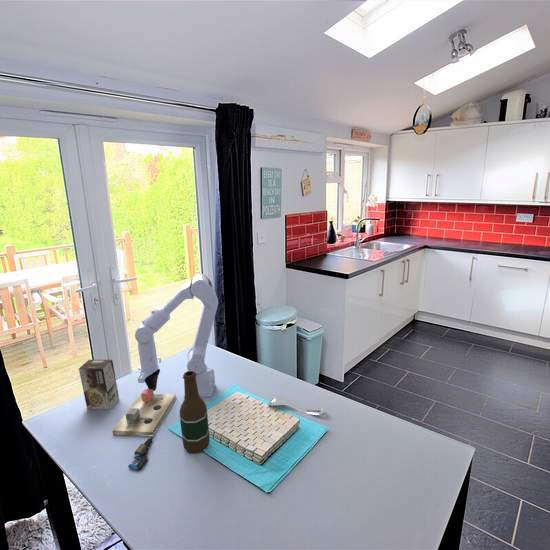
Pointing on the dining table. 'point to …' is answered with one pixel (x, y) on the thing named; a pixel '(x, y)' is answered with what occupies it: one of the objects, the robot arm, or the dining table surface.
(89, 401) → the coffee box
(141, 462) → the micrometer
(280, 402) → the stirrer
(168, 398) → the beige slider panel
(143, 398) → the block
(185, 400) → the beer bottle
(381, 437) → the dining table surface
